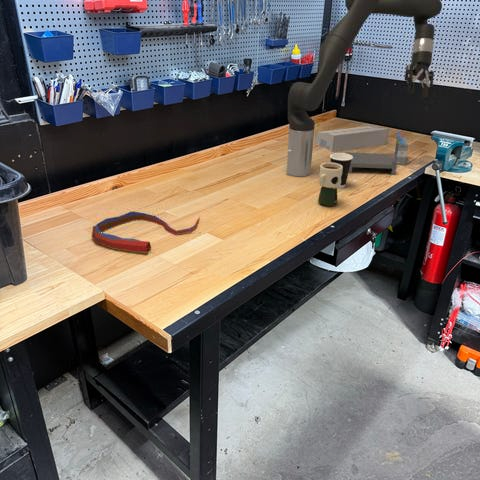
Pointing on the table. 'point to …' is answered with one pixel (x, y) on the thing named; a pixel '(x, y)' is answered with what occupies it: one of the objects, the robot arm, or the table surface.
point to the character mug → (329, 182)
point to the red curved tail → (126, 243)
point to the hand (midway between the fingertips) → (417, 95)
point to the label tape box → (400, 150)
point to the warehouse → (352, 138)
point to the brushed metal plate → (373, 161)
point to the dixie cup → (345, 162)
